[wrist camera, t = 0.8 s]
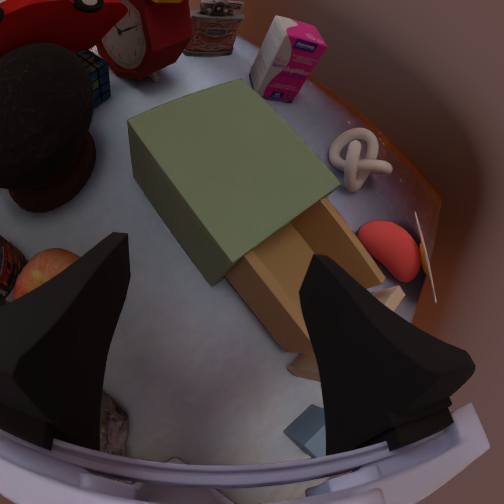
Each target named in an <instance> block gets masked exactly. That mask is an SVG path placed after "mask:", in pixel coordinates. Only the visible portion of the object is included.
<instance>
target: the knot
mask: <svg viewBox="0 0 504 504" xmlns="http://www.w3.org/2000/svg"><path fill="white" fill-rule="evenodd" d="M355 139H363V140H365V141H366V142H367V153H366V156H365V158H364V160H363V159H361V158H360V156H359V155H360V151H361V143H360V142H359V141H356V140H355ZM352 140H354V141H352ZM350 141H352V142H351V143H350V145H349V148H348V151H347V156H346V160H343V159H341V158H340V151H341V149H342V148H343V147H344V146H345V145H346V144H347V143H348V142H350ZM377 155H378V141H377V138H376V137H375V135H374V134H373V133H372V132H371V131H369V130H367V129H364V128H353V129H350V130H347V131H345V132H343V133H342V134H340V135H339V136H338V137H337V138H336V139H335V140H334V141H333V143H332V144H331V146H330V149H329V160H330V162H331V164H332V165H333V166H334V167H335V168H337V169H339V170H341V171H344V184H345V187H346V189H347V190H348V191H349V192H352V193H353V192H356V191H358V190H359V189H360V188H361V187H362V185H363V184H364V182H365V180H366V179H367V177H368V175H369V173H372V174H377V175H389V174H390V173H391V172H392V166H391V165H390V164H389V163H388V162H385V161H381V160H376V158H377ZM356 172H357V174H356Z"/></svg>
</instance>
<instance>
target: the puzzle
mask: <svg viewBox="0 0 504 504" xmlns="http://www.w3.org/2000/svg"><path fill="white" fill-rule="evenodd" d="M74 54H75V55H76V56H77V57H78V58H79V59H80V60H81V61H82V63H83V64H84V66H85V68H86V69H87V71H88V73H89V75H90V78H91V82H92V86H93V91H94V107H93V109H94V108H95V107H97V106H98V105H99V104H101V102H104V101H105V100H106V99H108V98H109V97H111V91H110V81H109V65H108V62H106V61H105V60H103V59H102V58H100V57H99V56H97V55H95V54H94V53H93V52H91V51H89V50H84V51H79V52H75V53H74Z"/></svg>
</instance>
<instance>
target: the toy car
mask: <svg viewBox="0 0 504 504" xmlns="http://www.w3.org/2000/svg"><path fill="white" fill-rule="evenodd" d="M127 12H128V8H127V7H126V5H124V4H123V3H121V1H120V0H6V1H4V2H2V3H0V57H1V56H3V55H5V54H6V53H8V52H10V51H11V50H13V49H16V48H18V47H21V46H24V45H28V44H33V43H40V42H42V43H51V44H56V45H60V46H62V47H64V48H66V49H68V50H70V51H71V52H73V53H74V52H79V51H84V50H88V49H90V48H92V47H93V46H94V45H96V44H97V43H99V42H100V41H101V40H102V39H103V37H104V36H105V35H106V34H107V33H108V32H109V31H110V30H111V29H112V28H113V27H114V26H115V25H116V24H117V23H118V22H119V21H120V20H121V19H122V18H123V17H125V16H126V14H127Z"/></svg>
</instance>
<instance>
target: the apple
mask: <svg viewBox="0 0 504 504" xmlns="http://www.w3.org/2000/svg"><path fill="white" fill-rule="evenodd" d="M79 258H80V257H79V256H77V255H76V254H74V253H72V252H69V251H67V250H64V249H60V248H52V249H47V250H44V251H42V252H40V253H38V254H36V255H35V256H34V257H33V258H32V259H31V260H30V261H29V262H28V263H27V264H26V266H25V267H24V268H23V270H22V271H21V273H20V274H19V276H18V278H17V280H16V283H15V286H14V294H13V300H15V299H17V298H19V297H21V296H23V295H24V294H26V293H28V292H30V291H32V290H34V289H35V288H37V287H39V286H40V285H42V284H43V283H45V282H47V281H48V280H50V279H51V278H53V277H54V276H56V275H57V274H59V273H60V272H62V271H63V270H64V269H65V268H67V267H68V266H70V265H71V264H72V263H74V262H75V261H76V260H78V259H79Z"/></svg>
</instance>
